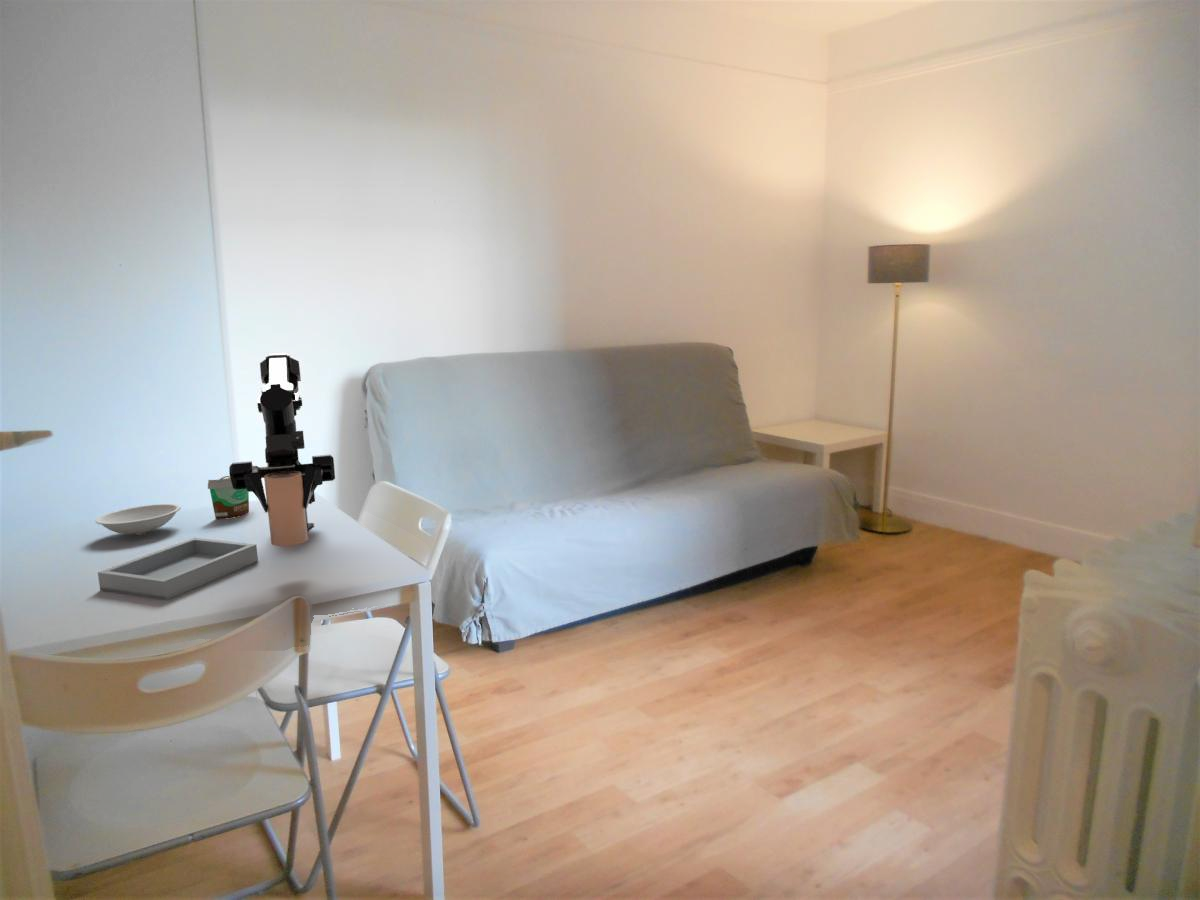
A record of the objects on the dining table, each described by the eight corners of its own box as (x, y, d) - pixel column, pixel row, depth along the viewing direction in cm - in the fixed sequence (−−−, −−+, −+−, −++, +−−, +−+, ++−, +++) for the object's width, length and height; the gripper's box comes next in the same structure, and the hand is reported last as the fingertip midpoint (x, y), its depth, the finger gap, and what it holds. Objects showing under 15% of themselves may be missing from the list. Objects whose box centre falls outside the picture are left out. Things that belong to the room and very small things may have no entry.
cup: (281, 535, 163) (274, 470, 160) (313, 535, 162) (307, 470, 160) (264, 546, 157) (257, 478, 154) (298, 546, 156) (291, 478, 153)
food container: (234, 521, 200) (229, 481, 198) (211, 520, 201) (206, 480, 199) (264, 508, 211) (260, 469, 210) (242, 507, 213) (238, 469, 211)
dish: (166, 520, 202) (164, 500, 201) (195, 529, 194) (192, 509, 193) (87, 538, 189) (84, 517, 188) (114, 549, 180) (110, 527, 179)
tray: (196, 553, 176) (194, 537, 175) (258, 560, 170) (256, 544, 169) (100, 590, 155) (97, 572, 155) (166, 600, 149) (163, 581, 149)
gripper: (224, 421, 156) (225, 492, 148) (329, 413, 161) (336, 481, 153) (232, 454, 164) (234, 523, 156) (331, 446, 170) (338, 512, 162)
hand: (286, 509), depth 157 cm, fingers closed on cup, 7 cm apart
